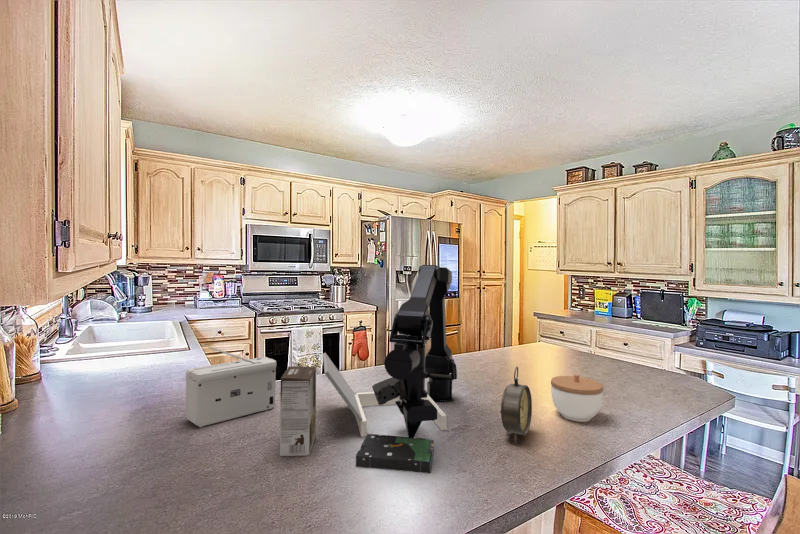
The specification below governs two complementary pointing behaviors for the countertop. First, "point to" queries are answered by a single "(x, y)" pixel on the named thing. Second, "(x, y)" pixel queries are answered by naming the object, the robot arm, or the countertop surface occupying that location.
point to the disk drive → (396, 453)
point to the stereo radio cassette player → (229, 389)
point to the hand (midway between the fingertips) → (410, 437)
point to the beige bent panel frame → (365, 398)
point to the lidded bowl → (576, 397)
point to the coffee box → (297, 411)
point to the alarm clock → (516, 408)
